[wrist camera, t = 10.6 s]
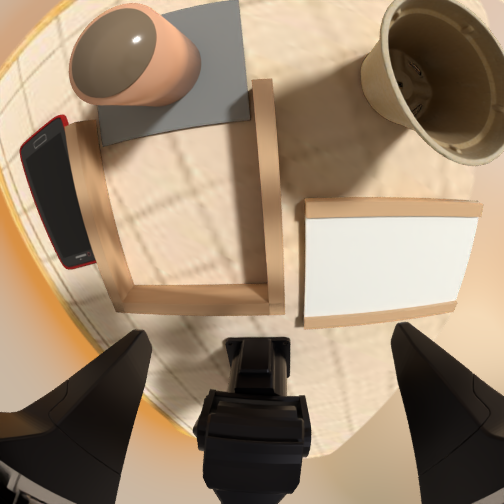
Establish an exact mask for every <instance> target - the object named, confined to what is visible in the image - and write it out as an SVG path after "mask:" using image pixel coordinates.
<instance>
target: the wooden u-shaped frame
mask: <svg viewBox="0 0 504 504" xmlns="http://www.w3.org/2000/svg"><path fill="white" fill-rule="evenodd" d="M252 89H253V99H254V110H255V122H256V133H257V145H258V157H259V169H260V181H261V194H262V207H263V221H264V234H265V249H266V263H267V278H268V283H260V284H225V285H134V283H133V280H132V277H131V274H130V271H129V268H128V265H127V262H126V259H125V255H124V252H123V249H122V245H121V242H120V238H119V235H118V231H117V227H116V224H115V220H114V216H113V212H112V208H111V204H110V199H109V195H108V190H107V186H106V181H105V176H104V171H103V165H102V160H101V154H100V148H99V141H98V134H97V126H96V120H88V121H80V122H74V123H72V124H70V125H67V126H65V134H66V141H67V147H68V154H69V160H70V165H71V170H72V175H73V180H74V185H75V189H76V194H77V198H78V202H79V206H80V210H81V213H82V217H83V221H84V224H85V228H86V231H87V234H88V238H89V241H90V244H91V247H92V250H93V253H94V256H95V259H96V262H97V265H98V268H99V270H100V273H101V276H102V279H103V281H104V284H105V286H106V289H107V291H108V294H109V296H110V299H111V301H112V303H113V306H114V308H115V310H116V312H121V313H137V314H158V315H190V316H252V315H285V293H284V258H283V232H282V210H281V191H280V174H279V158H278V143H277V130H276V117H275V105H274V93H273V83H272V79H257V80H252Z"/></svg>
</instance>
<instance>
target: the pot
mask: <svg viewBox="0 0 504 504" xmlns="http://www.w3.org/2000/svg"><path fill="white" fill-rule="evenodd" d="M200 71H201V56H200V53H199V50H198V48H197V47H196V45H195V44H194V43H193V42H192V41H191V40H190V39H189V38H187V37H186V36H185V35H184V34H183V33H182V32H180V31H179V30H178V29H177V28H176V27H174V26H173V25H172V24H171V23H170V22H168V21H167V20H166V19H165V18H163V17H162V16H161V15H159V14H158V13H157V12H156V11H154V10H153V9H152V8H150V7H148V6H146V5H143V4H137V3H128V4H122V5H119V6H116V7H113V8H111V9H109V10H107V11H105V12H103V13H102V14H100V15H99V16H98V17H96V18H95V19H94V20H93V21H92V22H91V23H90V24H89V25H88V26H87V27H86V28H85V29H84V31H83V32H82V33H81V35H80V36H79V38H78V40H77V42H76V44H75V46H74V48H73V51H72V54H71V58H70V63H69V78H70V83H71V85H72V88H73V90H74V92H75V93H76V94H77V96H78V97H79V98H80V99H82V100H83V101H85V102H87V103H89V104H93V105H129V106H153V107H160V106H166V105H169V104H172V103H174V102H176V101H178V100H180V99H181V98H183V97H184V96H185V95H186V94H187V93H188V92H189V91H190V90H191V89H192V88H193V86H194V85H195V83H196V81H197V80H198V77H199V75H200Z"/></svg>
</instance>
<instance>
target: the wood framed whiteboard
mask: <svg viewBox="0 0 504 504" xmlns="http://www.w3.org/2000/svg"><path fill="white" fill-rule="evenodd" d="M482 210H483V204H481V203H480V202H478V201H469V200H453V199H431V198H396V197H338V198H305V288H304V318H303V324H304V329H320V328H334V327H346V326H356V325H366V324H375V323H384V322H392V321H399V320H406V319H413V318H420V317H426V316H432V315H438V314H443V313H449V312H453V311H454V310H455V307H456V304H457V302H456V301H455V300H456V298H457V295H458V292H459V289H460V286H461V283H462V280H463V277H464V273H465V270H466V267H467V264H468V260H469V256H470V253H471V248H472V245H473V240H474V236H475V232H476V227H477V222H478V217H481V215H482Z"/></svg>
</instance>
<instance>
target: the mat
mask: <svg viewBox="0 0 504 504" xmlns="http://www.w3.org/2000/svg"><path fill="white" fill-rule="evenodd" d="M161 16H162V17H163V18H165V19H166V20H167V21H168V22H170V23H171V24H172V25H173V26H174V27H176V28H177V29H178V30H179V31H180V32H182V33H183V34H184V35H185V36H186V37H187V38H189V39H190V40H191V41H192V42H193V43H194V44H195V45H196V47H197V48H198V50H199V53H200V56H201V71H200V75H199V77H198V80H197V81H196V83H195V85H194V86H193V88H192V89H191V90H190V91H189V92H188V93H187V94H186V95H185V96H184V97H183V98H181V99H180V100H178V101H176V102H174V103H172V104H169V105H166V106H160V107H153V106H129V105H98V114H99V123H100V131H101V138H102V145H103V147H104V146H107V145H111V144H115V143H118V142H122V141H126V140H130V139H134V138H138V137H143V136H147V135H152V134H157V133H161V132H166V131H172V130H177V129H183V128H189V127H195V126H202V125H209V124H216V123H225V122H234V121H244V120H250V111H249V100H248V89H247V79H246V68H245V58H244V48H243V38H242V28H241V18H240V9H239V0H229V1H222V2H215V3H210V4H204V5H199V6H194V7H190V8H185V9H181V10H177V11H173V12H170V13H166V14H162V15H161Z"/></svg>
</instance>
